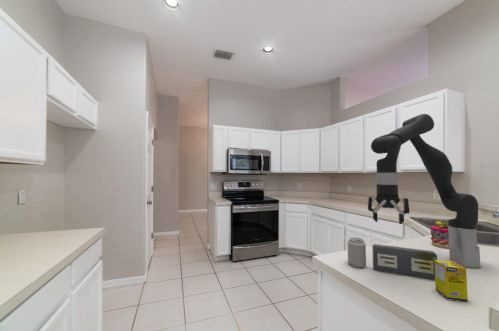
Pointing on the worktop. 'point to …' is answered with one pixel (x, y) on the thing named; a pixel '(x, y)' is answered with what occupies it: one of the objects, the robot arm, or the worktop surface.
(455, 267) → the supplement box
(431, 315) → the worktop surface
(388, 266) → the panel
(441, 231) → the cake
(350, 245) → the can
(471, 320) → the worktop surface
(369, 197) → the robot arm
